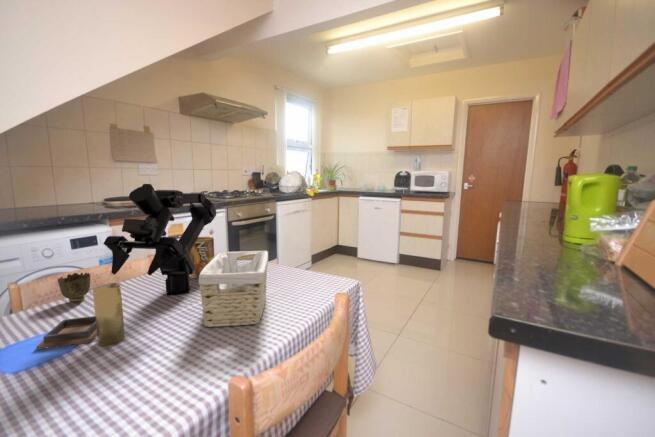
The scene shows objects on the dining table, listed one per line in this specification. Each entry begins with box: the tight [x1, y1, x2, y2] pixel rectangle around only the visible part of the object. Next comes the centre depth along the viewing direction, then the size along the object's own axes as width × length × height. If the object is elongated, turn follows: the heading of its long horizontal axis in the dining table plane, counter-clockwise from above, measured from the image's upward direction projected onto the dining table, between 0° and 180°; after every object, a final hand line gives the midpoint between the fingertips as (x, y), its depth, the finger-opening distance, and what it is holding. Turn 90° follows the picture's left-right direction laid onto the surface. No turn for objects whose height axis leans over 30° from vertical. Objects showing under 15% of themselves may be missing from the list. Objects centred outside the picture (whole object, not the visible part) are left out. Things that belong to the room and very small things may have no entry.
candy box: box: [189, 235, 215, 279], centre depth 109 cm, size 9×4×15 cm, turn 116°
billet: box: [92, 282, 126, 347], centre depth 65 cm, size 5×5×13 cm
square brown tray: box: [36, 315, 97, 350], centre depth 68 cm, size 10×10×2 cm
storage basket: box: [198, 250, 269, 328], centre depth 82 cm, size 24×16×15 cm
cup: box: [57, 272, 91, 304], centre depth 85 cm, size 8×7×8 cm
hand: (131, 274), depth 72 cm, fingers open, 9 cm apart
